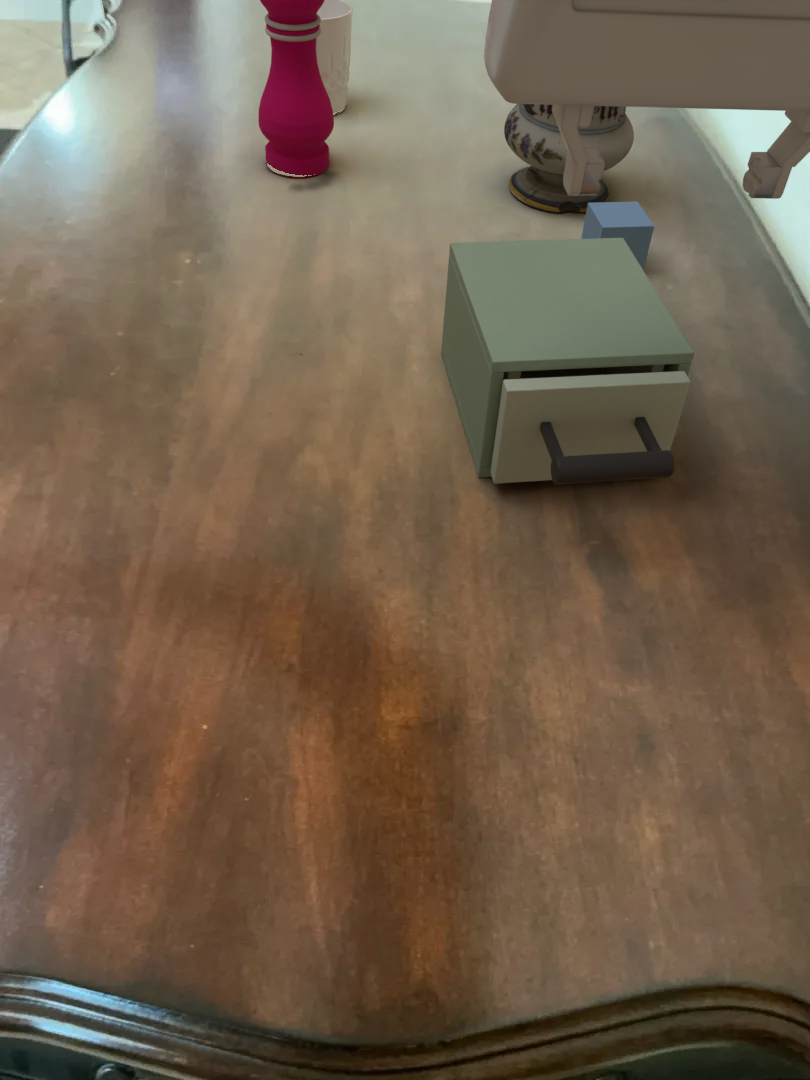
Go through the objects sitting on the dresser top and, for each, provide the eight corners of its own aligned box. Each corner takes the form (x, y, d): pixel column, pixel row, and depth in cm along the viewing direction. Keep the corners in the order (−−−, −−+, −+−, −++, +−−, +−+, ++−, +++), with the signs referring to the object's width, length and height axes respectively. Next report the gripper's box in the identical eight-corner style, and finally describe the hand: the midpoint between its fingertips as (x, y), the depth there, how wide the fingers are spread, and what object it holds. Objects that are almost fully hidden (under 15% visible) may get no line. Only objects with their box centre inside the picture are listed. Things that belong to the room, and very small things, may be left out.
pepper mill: (293, 143, 100) (284, -82, 86) (348, 163, 97) (349, -67, 83) (245, 166, 96) (228, -67, 82) (302, 187, 93) (295, -51, 79)
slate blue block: (627, 249, 87) (637, 201, 84) (642, 274, 84) (654, 225, 81) (578, 250, 87) (587, 202, 83) (592, 276, 83) (602, 227, 80)
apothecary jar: (517, 223, 90) (546, 10, 77) (483, 167, 98) (504, -34, 85) (639, 216, 92) (687, 7, 79) (596, 162, 100) (633, -35, 88)
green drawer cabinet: (660, 466, 66) (695, 352, 59) (477, 478, 64) (493, 361, 57) (599, 345, 76) (623, 237, 69) (440, 352, 74) (450, 242, 68)
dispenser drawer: (690, 526, 60) (722, 433, 55) (510, 539, 59) (526, 444, 54) (604, 356, 73) (624, 268, 68) (456, 363, 72) (464, 274, 66)
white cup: (359, 117, 106) (361, 17, 99) (288, 122, 104) (284, 20, 97) (342, 90, 111) (342, -7, 104) (274, 94, 109) (269, -4, 102)
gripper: (957, -140, 43) (839, 169, 52) (499, -167, 40) (464, 162, 50) (1038, -107, 38) (892, 224, 48) (528, -135, 36) (484, 219, 45)
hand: (671, 192), depth 49 cm, fingers open, 8 cm apart
